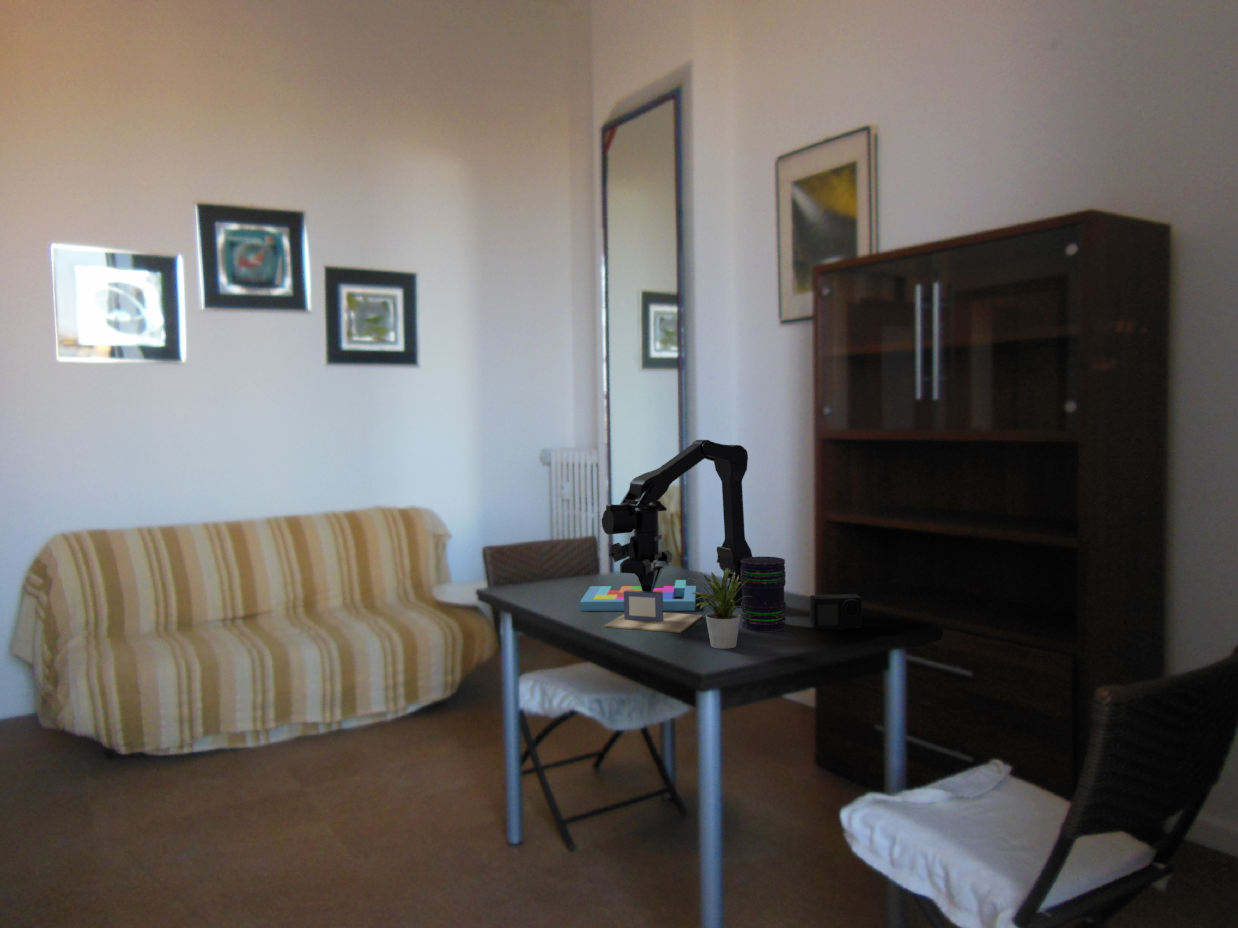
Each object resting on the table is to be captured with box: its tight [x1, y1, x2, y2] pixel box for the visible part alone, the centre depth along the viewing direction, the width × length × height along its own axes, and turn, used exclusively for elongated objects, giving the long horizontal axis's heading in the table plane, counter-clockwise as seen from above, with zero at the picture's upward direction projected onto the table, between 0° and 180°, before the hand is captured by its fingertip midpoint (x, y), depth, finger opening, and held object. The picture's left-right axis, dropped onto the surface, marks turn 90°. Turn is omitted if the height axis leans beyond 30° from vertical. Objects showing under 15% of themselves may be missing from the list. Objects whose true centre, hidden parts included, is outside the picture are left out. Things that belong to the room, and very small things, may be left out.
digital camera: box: [809, 593, 863, 630], centre depth 196 cm, size 10×5×7 cm, turn 91°
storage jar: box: [740, 556, 787, 633], centre depth 198 cm, size 10×10×15 cm
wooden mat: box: [603, 612, 703, 633], centre depth 206 cm, size 18×16×1 cm
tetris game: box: [579, 579, 697, 612], centre depth 232 cm, size 28×3×28 cm
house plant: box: [685, 568, 752, 650], centre depth 184 cm, size 14×14×16 cm
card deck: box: [623, 590, 664, 622], centre depth 206 cm, size 9×2×6 cm, turn 68°
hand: (647, 597), depth 208 cm, fingers closed
